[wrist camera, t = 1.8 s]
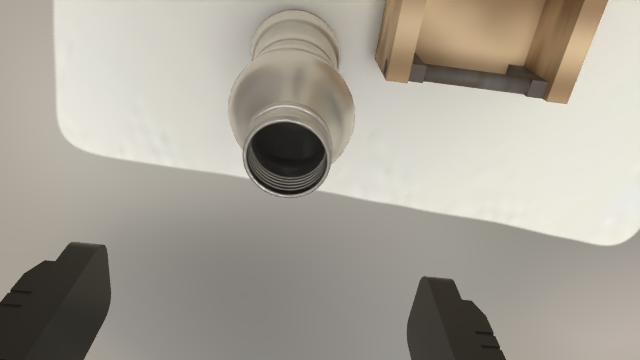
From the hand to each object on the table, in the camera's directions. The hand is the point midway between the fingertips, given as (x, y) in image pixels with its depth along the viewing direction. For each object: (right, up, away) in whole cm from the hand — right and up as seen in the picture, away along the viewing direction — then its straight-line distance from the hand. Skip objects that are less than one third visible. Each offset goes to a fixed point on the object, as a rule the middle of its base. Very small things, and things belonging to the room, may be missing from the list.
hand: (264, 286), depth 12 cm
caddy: (+13, +18, +23) cm, 32 cm away
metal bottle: (0, +13, +25) cm, 28 cm away
